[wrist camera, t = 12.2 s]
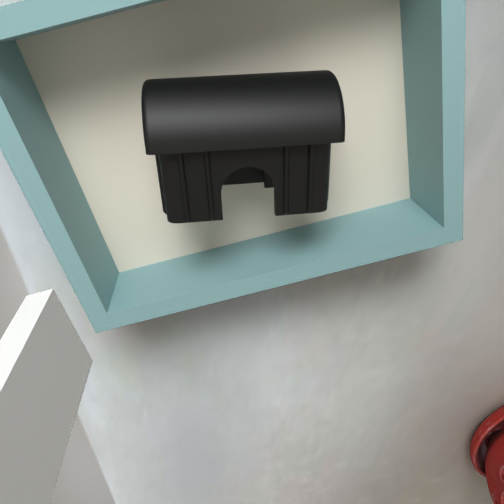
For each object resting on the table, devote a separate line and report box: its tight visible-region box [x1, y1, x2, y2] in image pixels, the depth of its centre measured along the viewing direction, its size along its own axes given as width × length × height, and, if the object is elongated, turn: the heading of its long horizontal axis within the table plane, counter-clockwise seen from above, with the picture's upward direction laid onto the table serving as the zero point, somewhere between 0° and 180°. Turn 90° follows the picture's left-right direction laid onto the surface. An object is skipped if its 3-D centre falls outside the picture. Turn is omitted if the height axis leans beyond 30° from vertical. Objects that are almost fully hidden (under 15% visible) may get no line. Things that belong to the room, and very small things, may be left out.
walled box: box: [0, 0, 466, 333], centre depth 26 cm, size 24×18×6 cm
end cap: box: [141, 70, 345, 224], centre depth 25 cm, size 10×7×7 cm
